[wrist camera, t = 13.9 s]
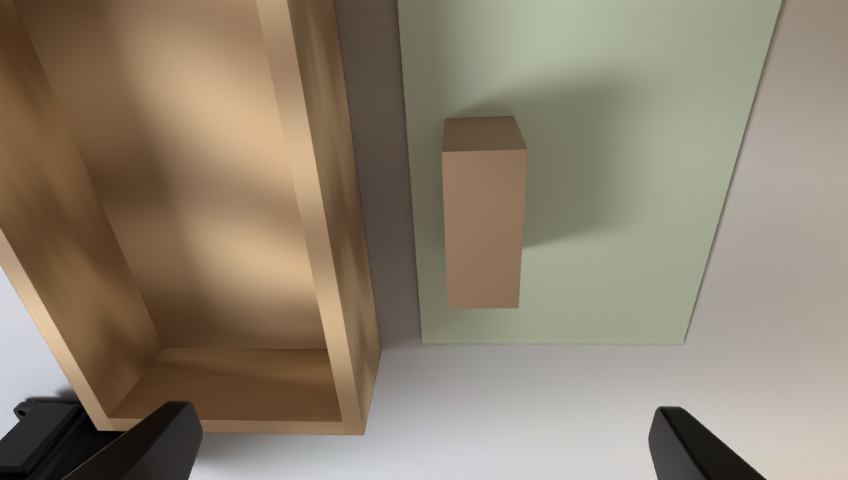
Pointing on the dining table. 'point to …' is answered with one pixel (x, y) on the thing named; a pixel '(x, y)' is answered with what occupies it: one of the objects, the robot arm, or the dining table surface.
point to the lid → (572, 161)
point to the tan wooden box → (189, 209)
